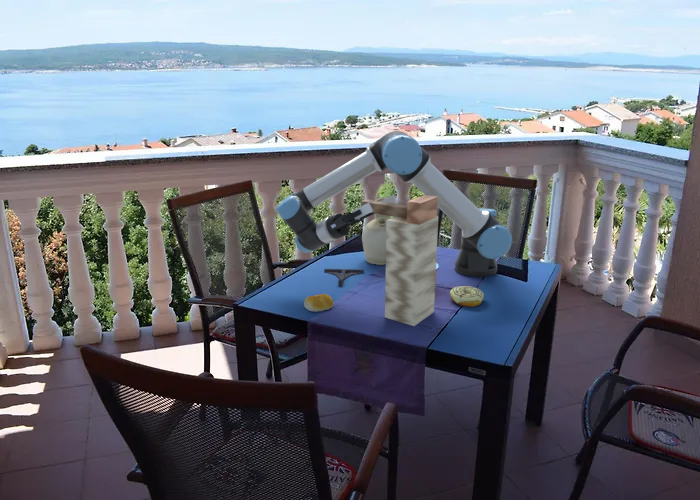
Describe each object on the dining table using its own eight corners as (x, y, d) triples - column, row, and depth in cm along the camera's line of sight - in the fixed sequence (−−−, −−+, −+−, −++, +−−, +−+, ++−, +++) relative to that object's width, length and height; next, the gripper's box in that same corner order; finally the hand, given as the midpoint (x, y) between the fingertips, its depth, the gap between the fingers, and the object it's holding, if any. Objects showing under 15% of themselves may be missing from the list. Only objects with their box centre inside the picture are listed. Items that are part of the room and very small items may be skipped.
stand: (384, 317, 164) (386, 220, 154) (405, 304, 173) (408, 211, 164) (414, 326, 158) (417, 225, 149) (433, 312, 167) (438, 216, 158)
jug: (393, 269, 204) (394, 203, 196) (355, 263, 210) (355, 199, 202) (407, 257, 217) (409, 195, 209) (371, 252, 223) (371, 191, 215)
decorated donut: (454, 308, 170) (454, 297, 169) (446, 295, 180) (447, 284, 179) (487, 307, 171) (488, 296, 170) (477, 294, 181) (478, 283, 180)
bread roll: (338, 308, 171) (338, 296, 170) (313, 314, 166) (312, 302, 165) (324, 299, 178) (324, 287, 176) (300, 305, 173) (299, 293, 172)
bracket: (319, 287, 189) (319, 279, 188) (324, 272, 203) (324, 265, 202) (361, 288, 187) (361, 281, 187) (363, 273, 202) (363, 266, 201)
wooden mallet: (354, 213, 162) (353, 193, 160) (372, 206, 170) (373, 187, 168) (419, 224, 150) (420, 203, 148) (436, 217, 157) (437, 196, 155)
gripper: (360, 230, 184) (409, 206, 170) (313, 248, 165) (364, 223, 151) (351, 209, 184) (399, 184, 170) (303, 225, 165) (353, 198, 152)
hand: (383, 202), depth 161 cm, fingers open, 12 cm apart
